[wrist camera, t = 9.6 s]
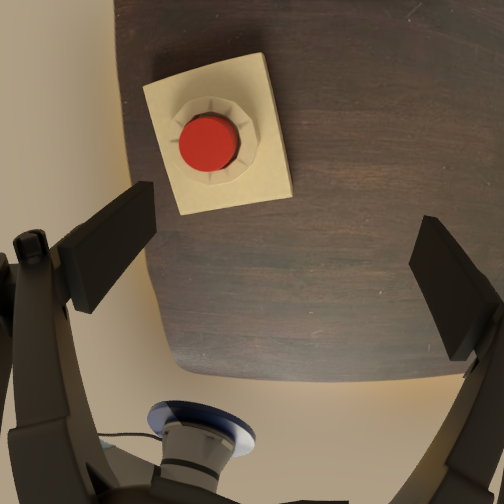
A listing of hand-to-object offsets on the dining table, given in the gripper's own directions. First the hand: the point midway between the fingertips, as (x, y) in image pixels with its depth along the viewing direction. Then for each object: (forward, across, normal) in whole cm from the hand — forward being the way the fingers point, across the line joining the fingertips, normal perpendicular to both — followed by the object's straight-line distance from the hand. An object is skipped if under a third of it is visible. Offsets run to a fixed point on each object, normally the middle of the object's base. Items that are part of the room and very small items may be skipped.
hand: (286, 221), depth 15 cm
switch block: (+14, -6, +2) cm, 15 cm away
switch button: (+10, -6, +2) cm, 12 cm away
